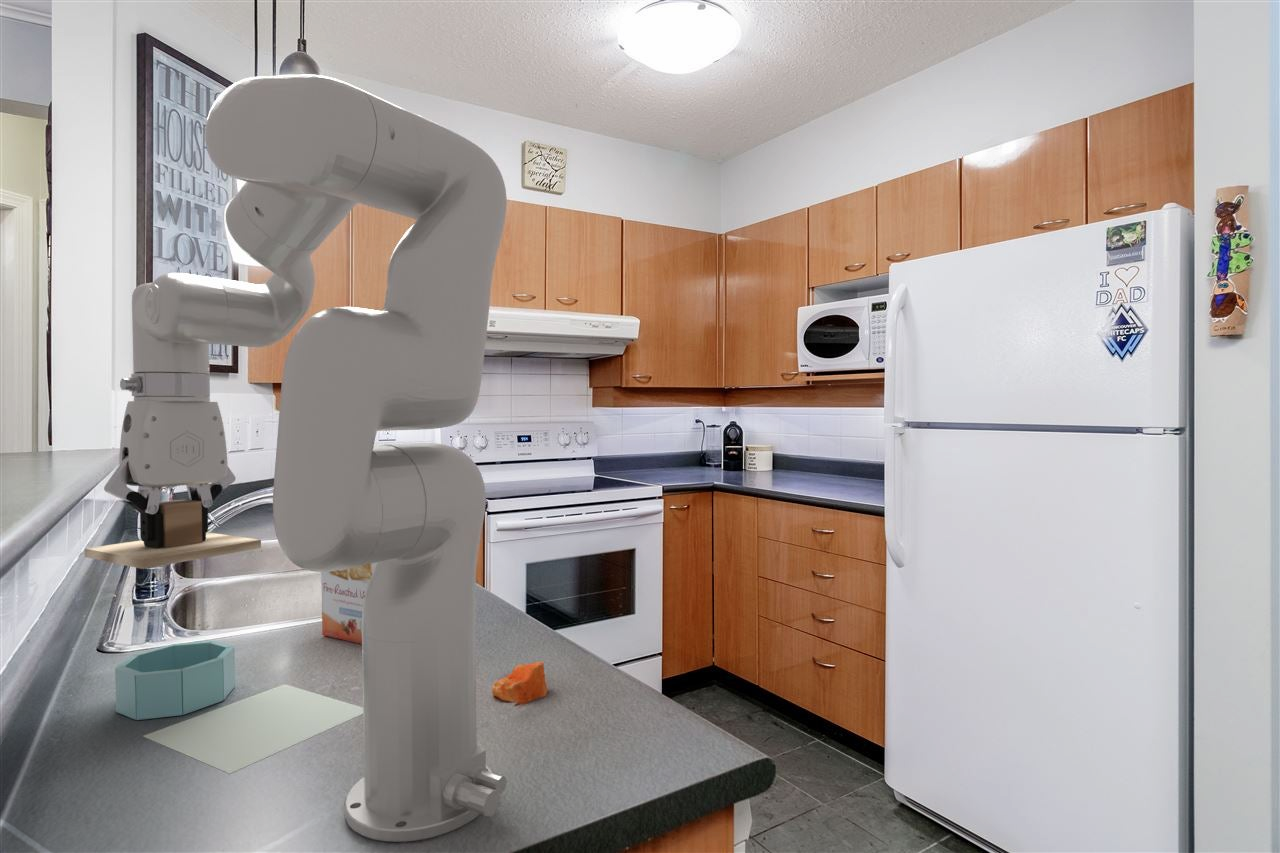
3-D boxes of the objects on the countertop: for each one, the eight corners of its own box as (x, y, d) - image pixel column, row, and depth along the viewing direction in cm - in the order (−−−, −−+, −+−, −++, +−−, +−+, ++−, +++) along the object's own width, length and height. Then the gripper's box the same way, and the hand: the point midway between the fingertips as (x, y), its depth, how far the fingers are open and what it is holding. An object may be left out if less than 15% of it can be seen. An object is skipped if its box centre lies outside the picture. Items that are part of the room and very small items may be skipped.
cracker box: (319, 637, 107) (317, 502, 106) (352, 626, 112) (350, 498, 112) (383, 651, 100) (381, 507, 100) (414, 639, 106) (413, 502, 105)
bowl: (250, 694, 85) (249, 650, 85) (151, 730, 75) (150, 680, 75) (200, 678, 90) (200, 636, 90) (102, 710, 81) (101, 663, 81)
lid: (261, 547, 85) (260, 499, 85) (142, 568, 74) (141, 512, 73) (202, 539, 91) (201, 493, 91) (84, 557, 80) (83, 505, 80)
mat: (370, 713, 79) (370, 710, 79) (230, 777, 65) (230, 773, 65) (284, 687, 87) (284, 684, 87) (142, 739, 73) (142, 735, 73)
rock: (447, 710, 82) (446, 674, 82) (510, 675, 93) (510, 643, 93) (530, 729, 76) (530, 691, 76) (587, 690, 87) (587, 656, 87)
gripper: (106, 387, 73) (109, 559, 73) (260, 391, 87) (262, 535, 88) (73, 388, 77) (76, 553, 77) (226, 392, 91) (228, 530, 91)
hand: (175, 541), depth 82 cm, fingers closed on lid, 4 cm apart
